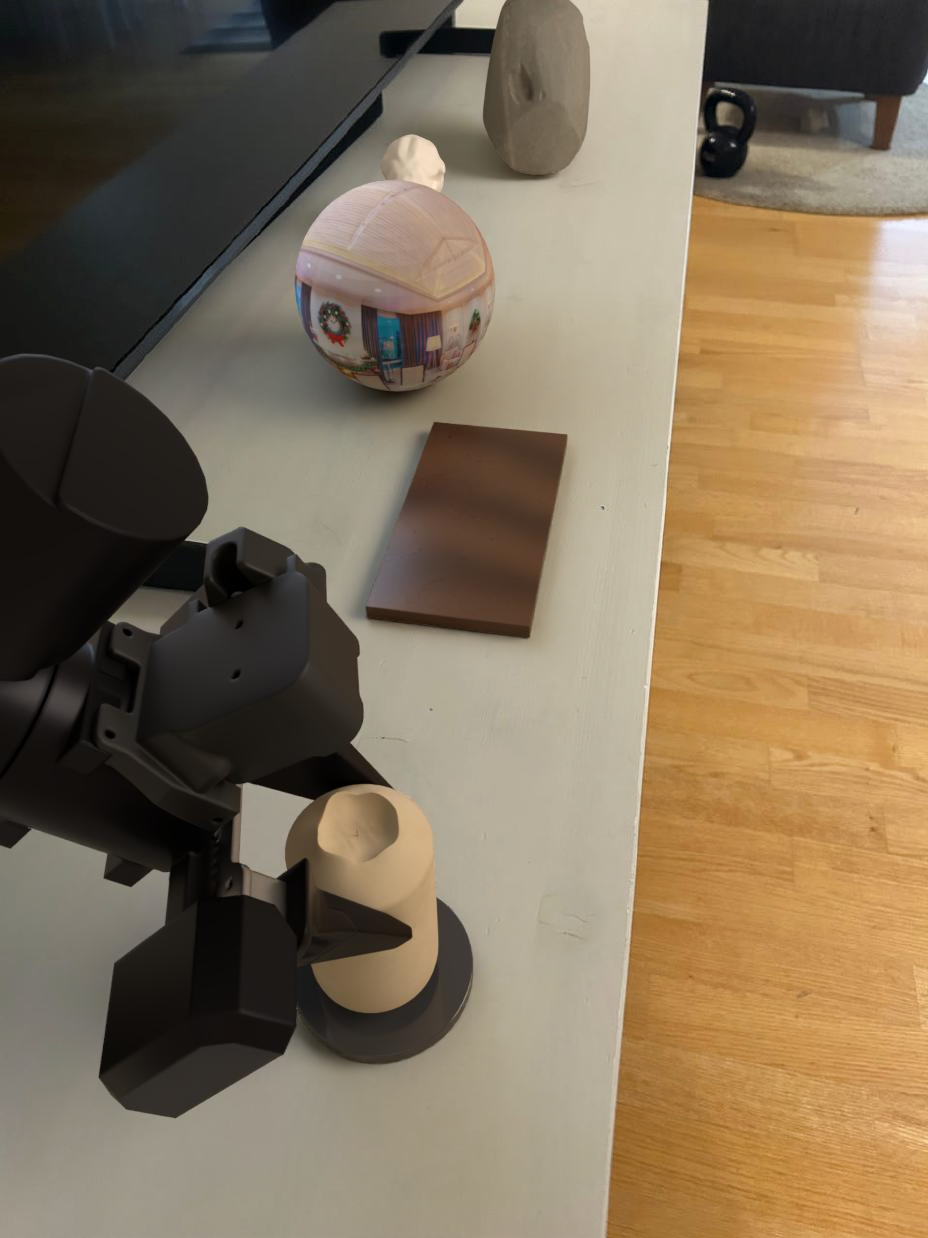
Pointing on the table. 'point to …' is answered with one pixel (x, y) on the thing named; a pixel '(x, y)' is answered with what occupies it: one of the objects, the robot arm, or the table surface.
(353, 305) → the ornament
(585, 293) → the table surface
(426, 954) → the candle
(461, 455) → the walnut board
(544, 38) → the decorative stone
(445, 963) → the coaster
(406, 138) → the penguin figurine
